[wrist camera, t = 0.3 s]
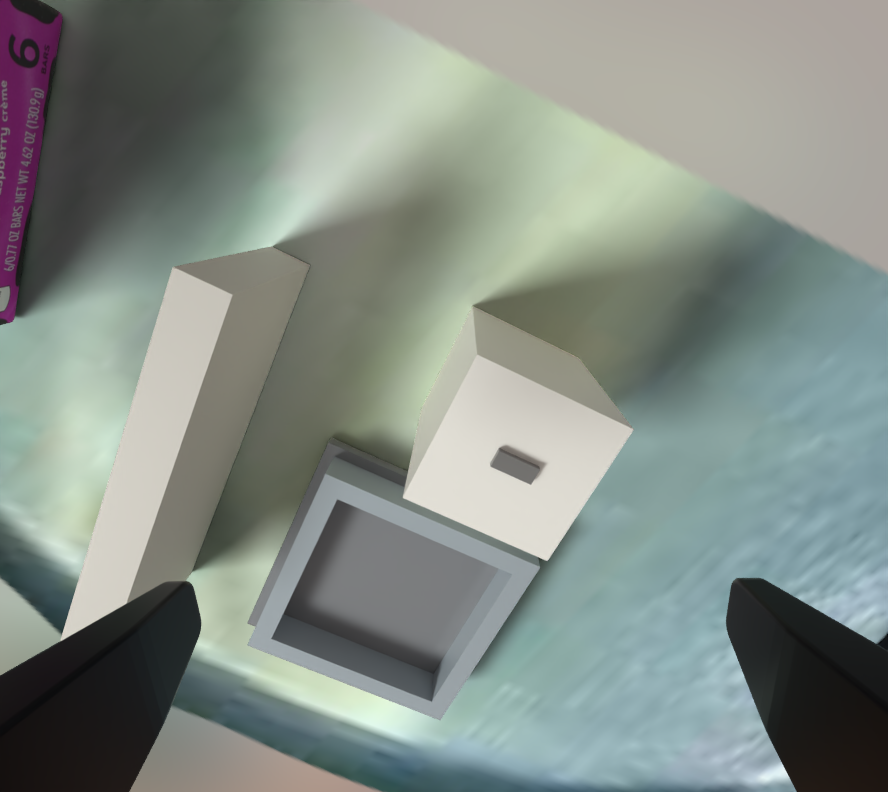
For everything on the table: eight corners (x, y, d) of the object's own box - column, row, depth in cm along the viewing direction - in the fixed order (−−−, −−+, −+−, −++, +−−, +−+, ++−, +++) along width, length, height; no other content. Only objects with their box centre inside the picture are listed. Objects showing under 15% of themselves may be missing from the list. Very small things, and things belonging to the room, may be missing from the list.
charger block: (578, 357, 20) (636, 432, 14) (522, 454, 22) (548, 565, 15) (472, 305, 20) (477, 356, 13) (421, 408, 21) (401, 501, 15)
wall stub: (310, 265, 20) (232, 294, 13) (191, 572, 24) (89, 709, 18) (271, 246, 19) (173, 267, 13) (159, 560, 24) (44, 693, 18)
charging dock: (548, 533, 23) (556, 563, 21) (446, 692, 26) (444, 730, 24) (331, 437, 22) (318, 459, 20) (251, 615, 25) (234, 648, 23)
